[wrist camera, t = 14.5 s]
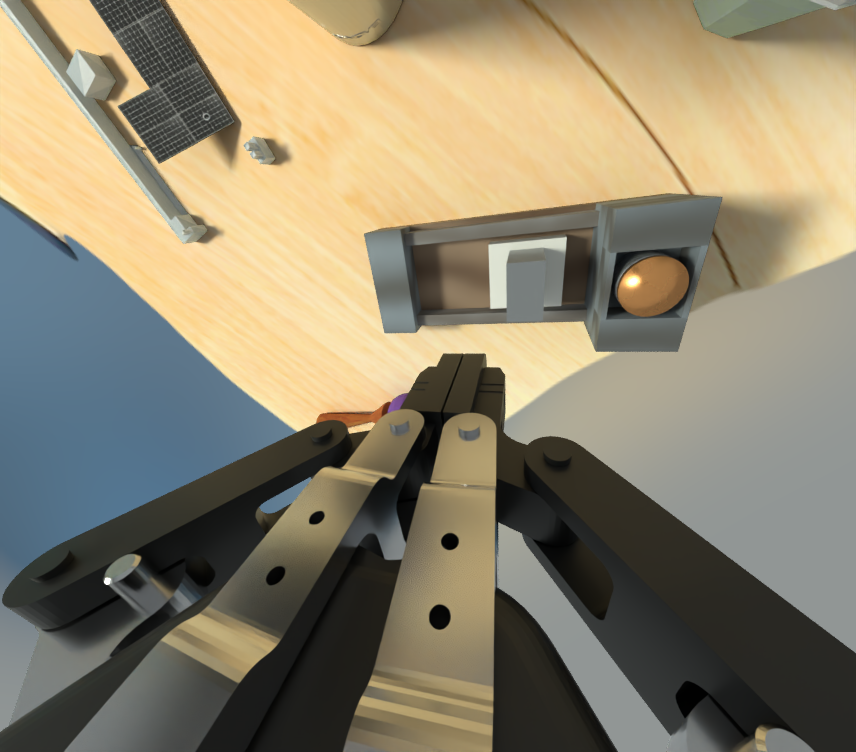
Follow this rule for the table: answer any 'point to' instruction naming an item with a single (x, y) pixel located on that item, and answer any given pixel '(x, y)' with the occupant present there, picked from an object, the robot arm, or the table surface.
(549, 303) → the carriage
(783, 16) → the disposable coffee cup
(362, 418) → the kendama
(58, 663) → the robot arm
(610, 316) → the grey stepped base
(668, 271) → the button
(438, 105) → the table surface
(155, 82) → the paper cutter
